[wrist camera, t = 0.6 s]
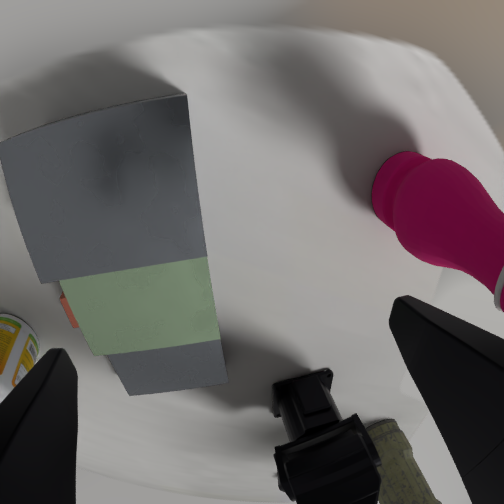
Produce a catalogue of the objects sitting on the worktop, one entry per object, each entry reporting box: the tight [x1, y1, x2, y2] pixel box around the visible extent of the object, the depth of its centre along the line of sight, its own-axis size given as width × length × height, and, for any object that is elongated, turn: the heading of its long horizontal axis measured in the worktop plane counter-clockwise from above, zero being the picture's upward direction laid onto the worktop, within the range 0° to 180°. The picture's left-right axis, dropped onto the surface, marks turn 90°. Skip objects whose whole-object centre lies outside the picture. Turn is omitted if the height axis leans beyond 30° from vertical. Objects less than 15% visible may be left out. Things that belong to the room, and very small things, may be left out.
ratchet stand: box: [0, 93, 229, 396], centre depth 19 cm, size 22×10×6 cm, turn 4°
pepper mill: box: [372, 151, 504, 312], centre depth 14 cm, size 7×7×20 cm
